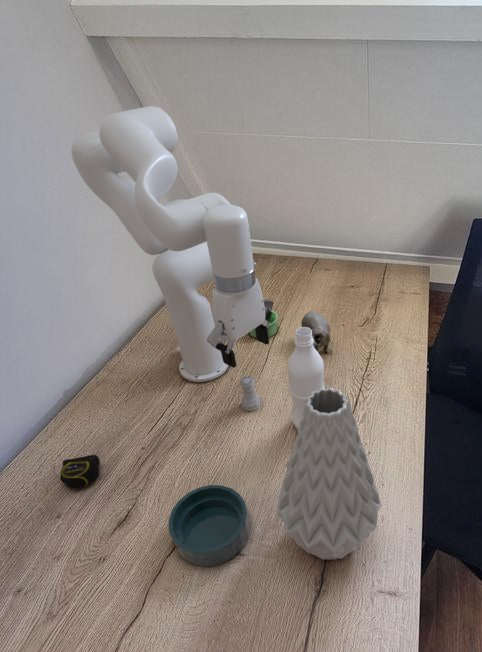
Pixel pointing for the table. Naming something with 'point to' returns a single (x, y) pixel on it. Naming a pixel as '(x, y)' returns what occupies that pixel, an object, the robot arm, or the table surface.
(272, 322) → the ramekin
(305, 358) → the water bottle
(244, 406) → the rook chess piece
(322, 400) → the vase
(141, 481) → the table surface
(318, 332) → the rhinoceros figurine
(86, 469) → the tape measure
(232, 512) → the bowl
